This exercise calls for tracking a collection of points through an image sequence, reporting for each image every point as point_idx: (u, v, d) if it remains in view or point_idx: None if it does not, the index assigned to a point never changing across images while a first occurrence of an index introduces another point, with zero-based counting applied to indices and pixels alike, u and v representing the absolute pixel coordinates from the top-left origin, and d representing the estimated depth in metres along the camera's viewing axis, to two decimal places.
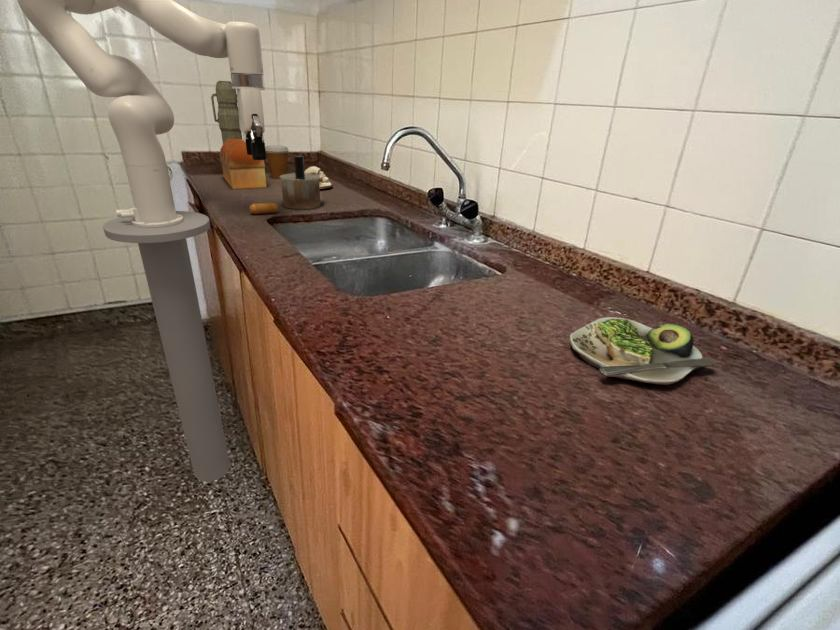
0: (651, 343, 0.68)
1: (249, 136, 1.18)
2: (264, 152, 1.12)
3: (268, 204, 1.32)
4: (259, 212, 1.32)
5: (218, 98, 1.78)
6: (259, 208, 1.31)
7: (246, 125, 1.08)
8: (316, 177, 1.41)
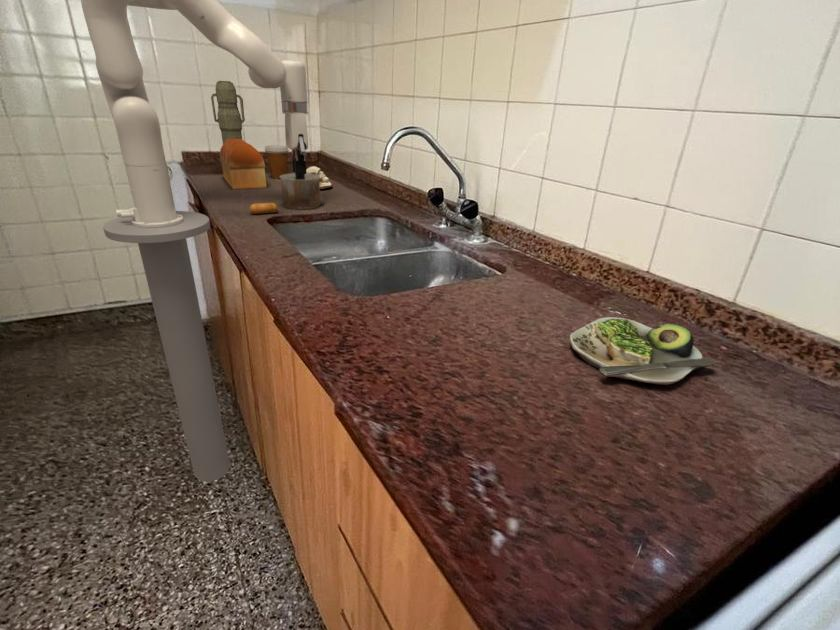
0: (651, 343, 0.68)
1: None
2: (305, 168, 1.39)
3: (268, 204, 1.32)
4: (259, 212, 1.32)
5: (218, 98, 1.78)
6: (259, 208, 1.31)
7: (294, 143, 1.32)
8: (316, 177, 1.41)
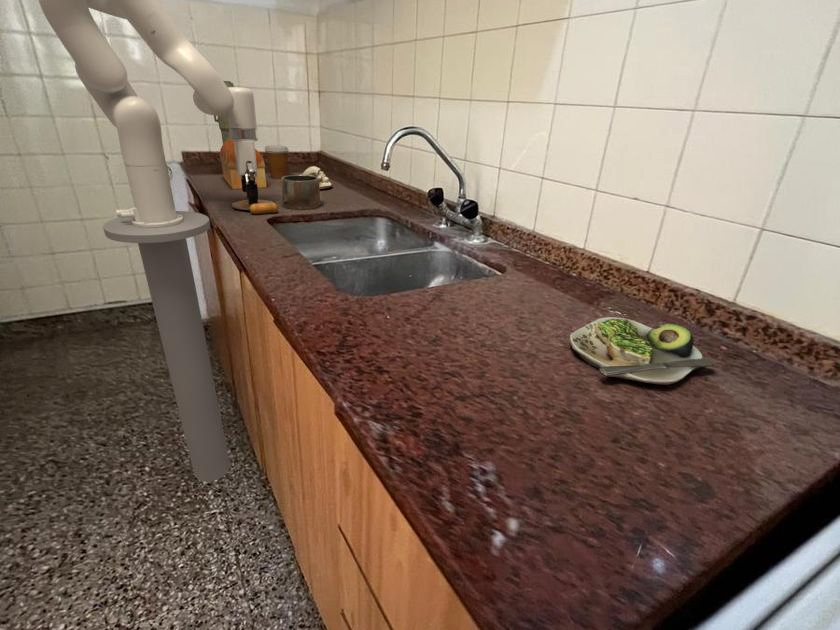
0: (651, 343, 0.68)
1: (244, 176, 1.39)
2: (257, 191, 1.33)
3: (268, 204, 1.32)
4: (259, 212, 1.32)
5: None
6: (259, 208, 1.31)
7: (241, 170, 1.29)
8: None
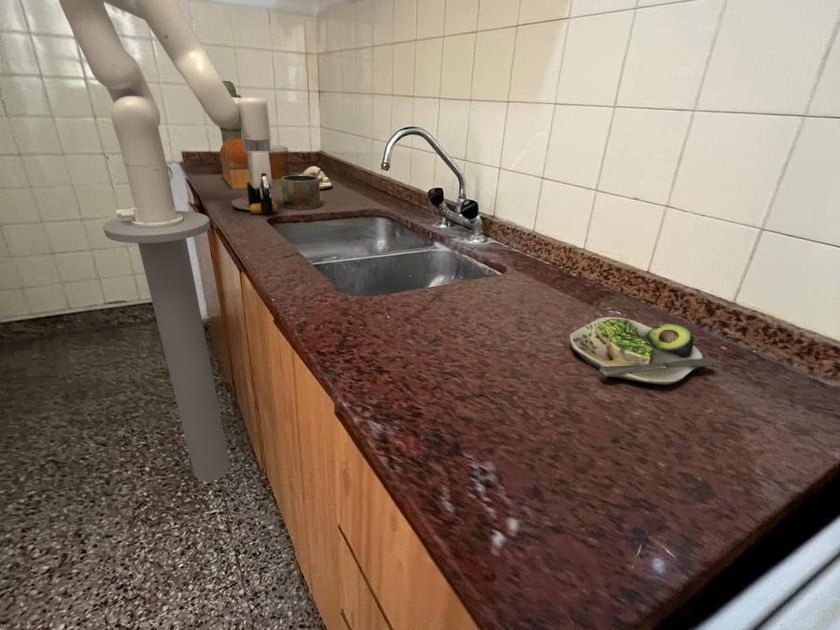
0: (651, 343, 0.68)
1: (259, 191, 1.34)
2: (271, 206, 1.30)
3: None
4: (259, 212, 1.32)
5: None
6: (259, 208, 1.31)
7: (256, 183, 1.25)
8: None
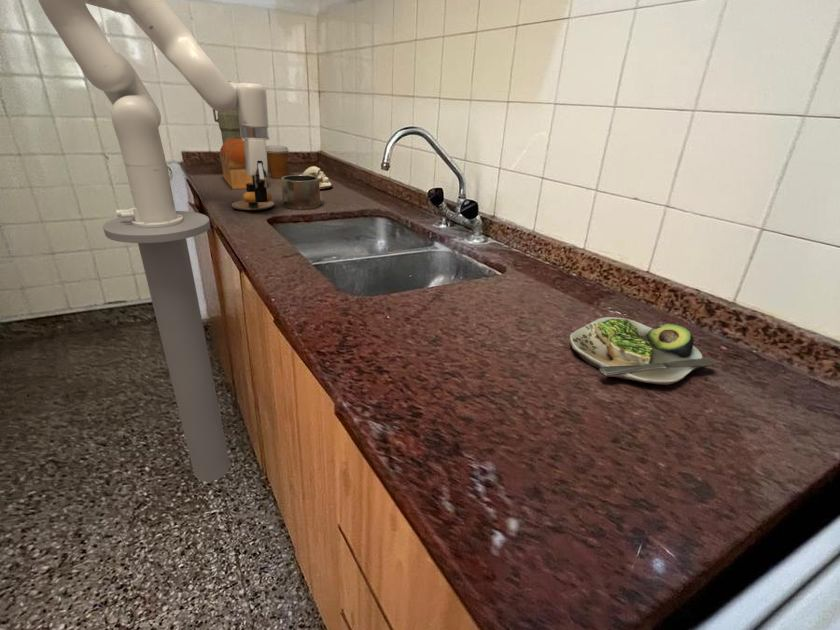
0: (651, 343, 0.68)
1: None
2: (266, 195, 1.30)
3: None
4: (252, 200, 1.30)
5: None
6: (253, 196, 1.29)
7: (252, 170, 1.23)
8: (269, 204, 1.39)
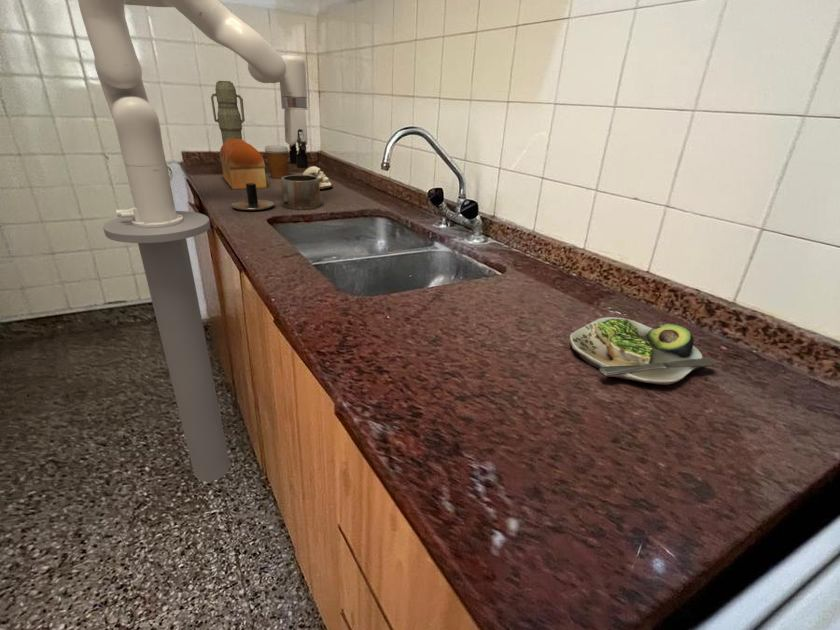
0: (651, 343, 0.68)
1: (292, 148, 1.41)
2: (306, 161, 1.36)
3: None
4: None
5: (218, 98, 1.78)
6: None
7: (293, 138, 1.31)
8: (269, 204, 1.39)
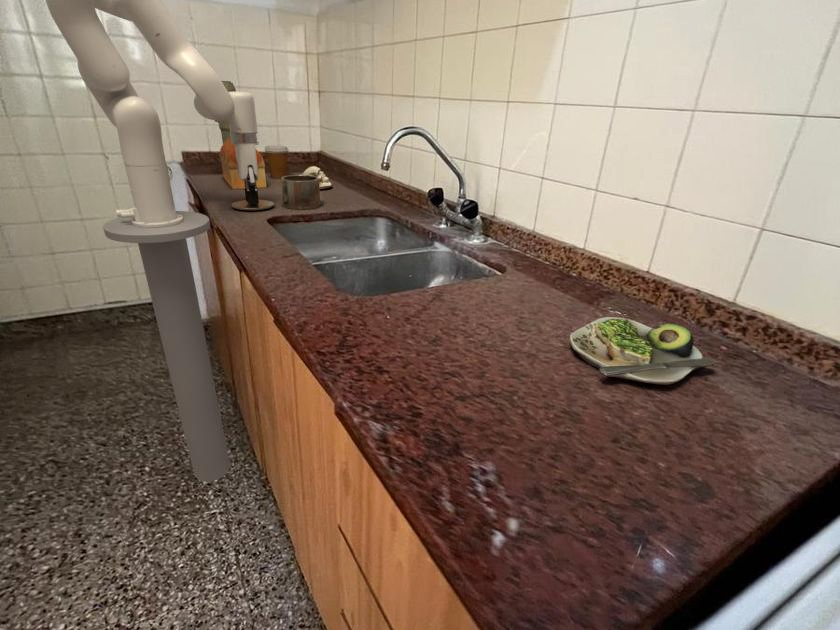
0: (651, 343, 0.68)
1: None
2: (257, 197, 1.37)
3: None
4: None
5: None
6: None
7: (243, 174, 1.30)
8: (269, 205, 1.39)
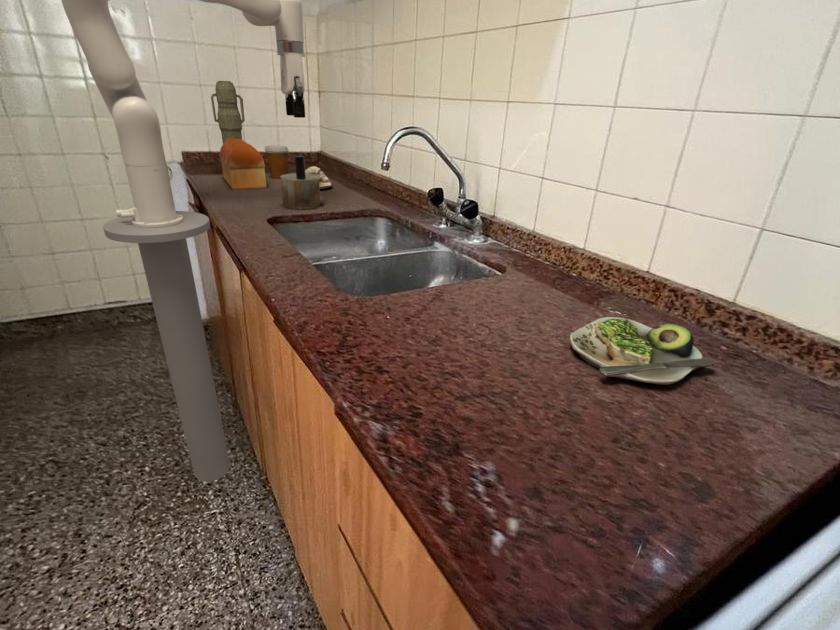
0: (651, 343, 0.68)
1: (289, 98, 1.35)
2: (304, 110, 1.29)
3: None
4: None
5: (218, 98, 1.78)
6: None
7: (289, 86, 1.25)
8: (317, 177, 1.41)
